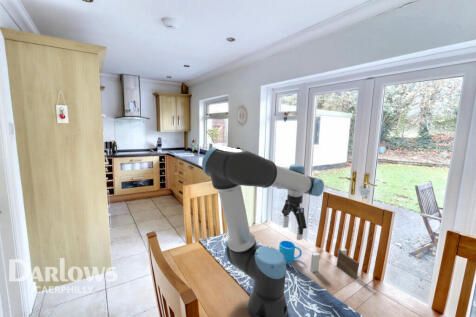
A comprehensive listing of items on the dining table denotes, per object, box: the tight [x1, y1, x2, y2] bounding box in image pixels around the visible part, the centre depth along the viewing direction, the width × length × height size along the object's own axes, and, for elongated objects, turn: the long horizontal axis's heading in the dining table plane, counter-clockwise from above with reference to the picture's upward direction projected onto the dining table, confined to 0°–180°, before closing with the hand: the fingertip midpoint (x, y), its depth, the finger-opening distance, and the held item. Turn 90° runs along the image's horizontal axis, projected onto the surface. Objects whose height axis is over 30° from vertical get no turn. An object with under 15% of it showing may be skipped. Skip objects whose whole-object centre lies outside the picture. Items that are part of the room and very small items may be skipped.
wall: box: [310, 248, 348, 273], centre depth 113 cm, size 2×20×10 cm, turn 108°
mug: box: [278, 240, 303, 264], centre depth 120 cm, size 12×8×8 cm
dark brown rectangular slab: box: [338, 252, 360, 280], centre depth 110 cm, size 2×10×8 cm, turn 27°
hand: (292, 233), depth 118 cm, fingers open, 13 cm apart
